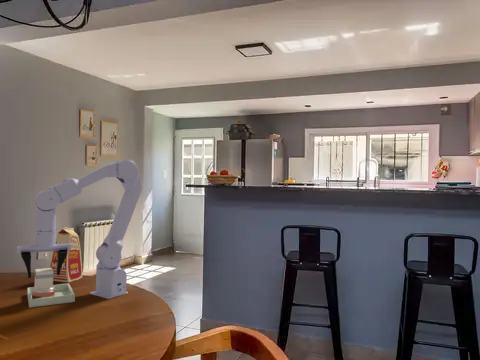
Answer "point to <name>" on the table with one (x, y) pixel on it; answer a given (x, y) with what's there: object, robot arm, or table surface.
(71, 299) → the tray
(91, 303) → the table surface
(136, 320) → the table surface
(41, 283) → the tea box
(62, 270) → the milk carton
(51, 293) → the tin can
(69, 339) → the table surface
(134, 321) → the table surface
